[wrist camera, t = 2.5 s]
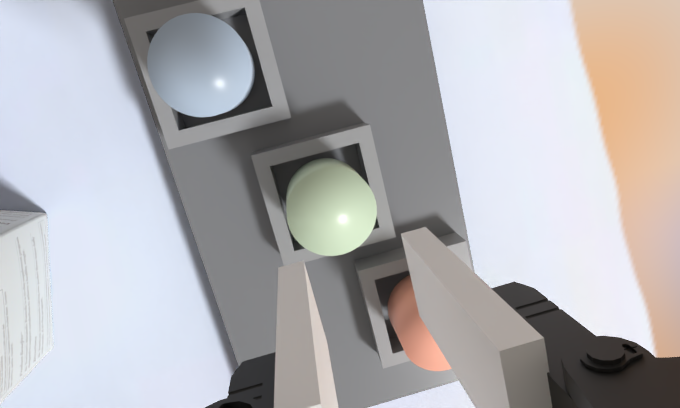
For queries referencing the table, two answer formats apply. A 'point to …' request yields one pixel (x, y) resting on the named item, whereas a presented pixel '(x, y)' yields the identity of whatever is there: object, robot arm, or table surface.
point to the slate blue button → (200, 65)
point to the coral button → (413, 329)
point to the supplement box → (23, 296)
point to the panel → (307, 145)
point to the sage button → (330, 207)
